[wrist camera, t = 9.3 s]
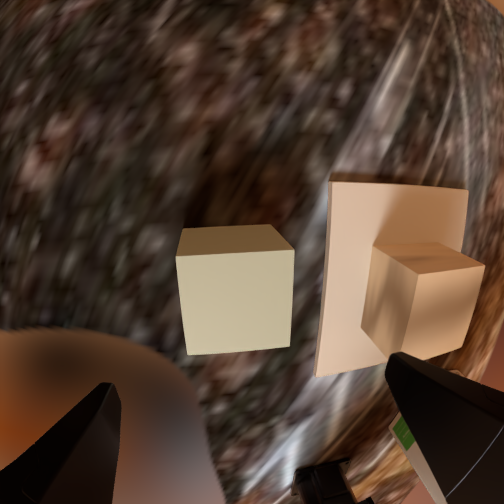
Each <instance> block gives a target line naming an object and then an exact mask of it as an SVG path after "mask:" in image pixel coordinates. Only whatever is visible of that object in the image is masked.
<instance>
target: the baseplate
mask: <svg viewBox="0 0 504 504" xmlns="http://www.w3.org/2000/svg"><path fill="white" fill-rule="evenodd" d="M468 193H469V191H468V190H464V189H455V188H445V187H433V186H421V185H406V184H390V183H370V182H341V181H329V182H328V212H327V232H326V249H325V264H324V277H323V289H322V300H321V311H320V320H319V330H318V338H317V347H316V355H315V363H314V370H313V373H314V375H315V377H321V376H327V375H332V374H337V373H342V372H347V371H352V370H356V369H361V368H365V367H369V366H374V365H378V364H382V363H386V362H388V359H387V358H386V357H385V356H384V354H383V353H382V352H381V351H380V350H379V348H378V347H377V346H376V345H375V344H374V343H373V341H372V340H371V339H370V338H369V337H368V336H367V334H366V333H365V332H364V331H363V330H362V329H361V327H360V326H361V321H362V315H363V309H364V303H365V297H366V290H367V283H368V276H369V268H370V260H371V252H372V246H379V245H398V244H416V243H435V242H438V243H441V244H443V245H445V246H447V247H449V248H451V249H453V250H455V251H457V252H459V253H461V248H462V242H463V235H464V228H465V221H466V213H467V204H468Z"/></svg>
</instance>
